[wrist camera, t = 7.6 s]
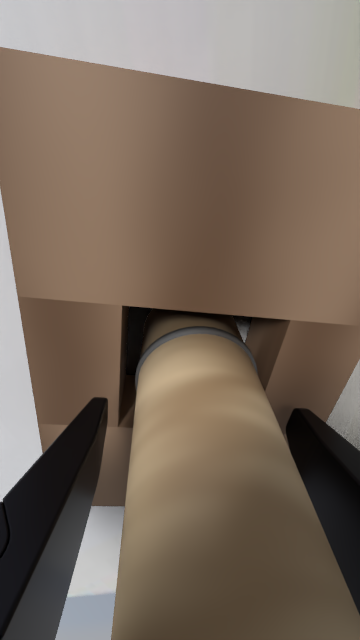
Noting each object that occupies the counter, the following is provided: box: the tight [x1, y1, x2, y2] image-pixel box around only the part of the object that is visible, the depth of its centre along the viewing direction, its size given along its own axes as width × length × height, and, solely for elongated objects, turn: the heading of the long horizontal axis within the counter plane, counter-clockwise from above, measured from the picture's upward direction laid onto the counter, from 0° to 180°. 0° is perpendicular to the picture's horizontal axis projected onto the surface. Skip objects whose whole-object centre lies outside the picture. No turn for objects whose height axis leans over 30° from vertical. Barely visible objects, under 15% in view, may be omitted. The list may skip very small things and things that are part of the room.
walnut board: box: [0, 47, 360, 506], centre depth 11 cm, size 11×16×3 cm
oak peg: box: [111, 308, 360, 640], centre depth 9 cm, size 4×4×10 cm
